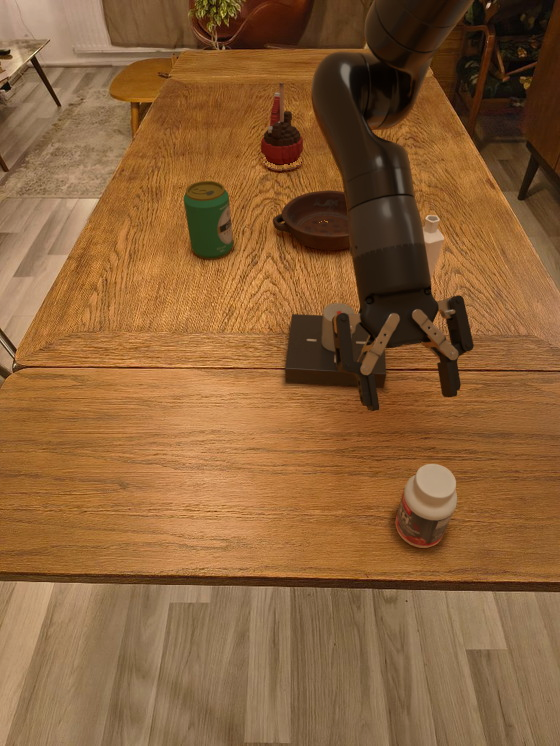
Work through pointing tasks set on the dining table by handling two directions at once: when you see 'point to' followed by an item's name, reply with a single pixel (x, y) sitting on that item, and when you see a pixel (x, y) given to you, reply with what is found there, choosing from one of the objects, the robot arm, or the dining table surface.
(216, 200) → the beverage can
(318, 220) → the dish
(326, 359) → the black dial box
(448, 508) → the pill bottle
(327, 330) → the stove knob
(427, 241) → the perfume bottle
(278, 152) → the cake
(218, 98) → the dining table surface
